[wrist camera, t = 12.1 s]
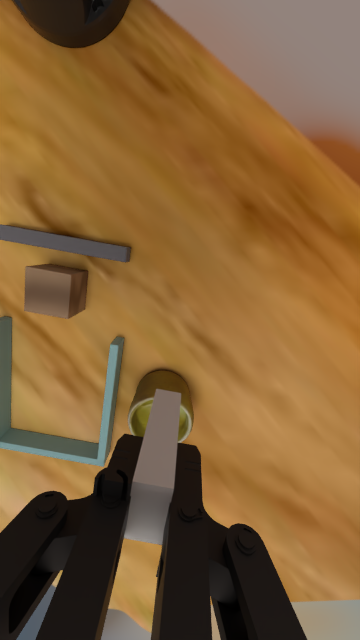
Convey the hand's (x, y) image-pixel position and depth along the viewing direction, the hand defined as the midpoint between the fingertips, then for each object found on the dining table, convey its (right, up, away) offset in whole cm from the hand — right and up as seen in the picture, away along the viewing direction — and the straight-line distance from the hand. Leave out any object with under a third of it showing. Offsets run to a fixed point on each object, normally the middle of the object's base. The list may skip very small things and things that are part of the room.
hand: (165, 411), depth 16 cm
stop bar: (-15, +17, +24) cm, 33 cm away
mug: (-2, -8, +30) cm, 31 cm away
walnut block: (-16, +10, +25) cm, 32 cm away
